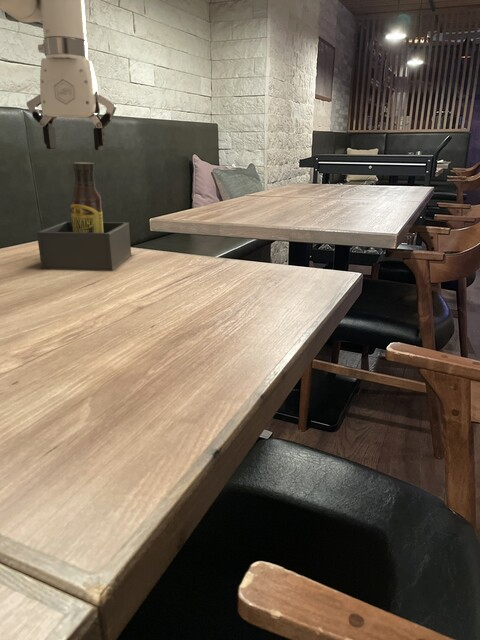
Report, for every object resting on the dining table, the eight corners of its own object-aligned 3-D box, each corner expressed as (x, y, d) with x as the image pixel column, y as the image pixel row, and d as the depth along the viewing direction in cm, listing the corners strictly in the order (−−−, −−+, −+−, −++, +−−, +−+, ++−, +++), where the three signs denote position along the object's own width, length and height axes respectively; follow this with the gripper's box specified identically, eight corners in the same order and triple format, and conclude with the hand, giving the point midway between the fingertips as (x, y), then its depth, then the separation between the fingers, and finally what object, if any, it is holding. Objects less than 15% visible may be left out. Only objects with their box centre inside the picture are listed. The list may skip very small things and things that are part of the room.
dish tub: (41, 270, 99) (36, 232, 97) (68, 255, 112) (64, 221, 109) (112, 272, 98) (109, 233, 96) (131, 257, 111) (128, 222, 108)
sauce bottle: (68, 262, 103) (57, 162, 96) (86, 255, 109) (76, 161, 102) (96, 264, 101) (86, 163, 94) (112, 257, 107) (104, 162, 100)
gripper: (11, 47, 88) (23, 148, 94) (105, 49, 87) (112, 150, 93) (31, 54, 95) (41, 148, 101) (118, 55, 94) (124, 150, 100)
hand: (75, 149), depth 97 cm, fingers open, 9 cm apart
